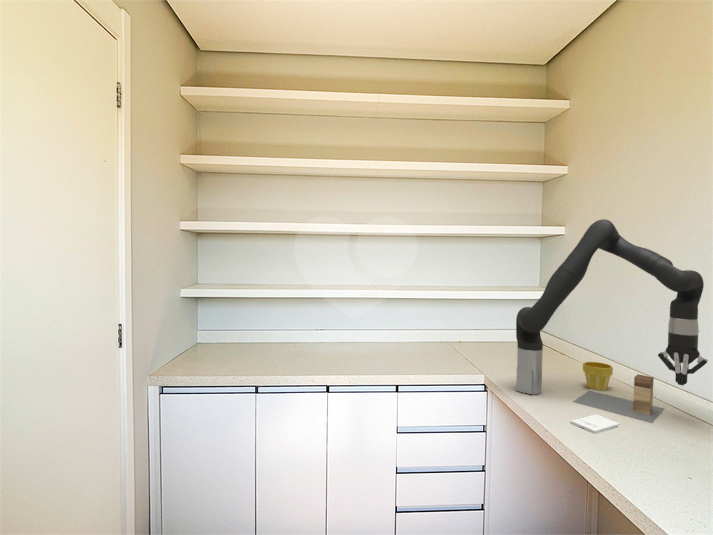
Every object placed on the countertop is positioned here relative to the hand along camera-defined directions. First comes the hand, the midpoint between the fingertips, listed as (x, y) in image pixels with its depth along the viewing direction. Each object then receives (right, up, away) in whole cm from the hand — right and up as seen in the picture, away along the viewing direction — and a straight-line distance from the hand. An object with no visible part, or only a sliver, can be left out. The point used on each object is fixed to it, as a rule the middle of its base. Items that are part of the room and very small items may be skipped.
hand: (681, 384), depth 129 cm
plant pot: (-8, -11, +33) cm, 35 cm away
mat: (-12, -12, +13) cm, 22 cm away
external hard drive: (-29, -13, -2) cm, 32 cm away
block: (-7, -12, +8) cm, 16 cm away
